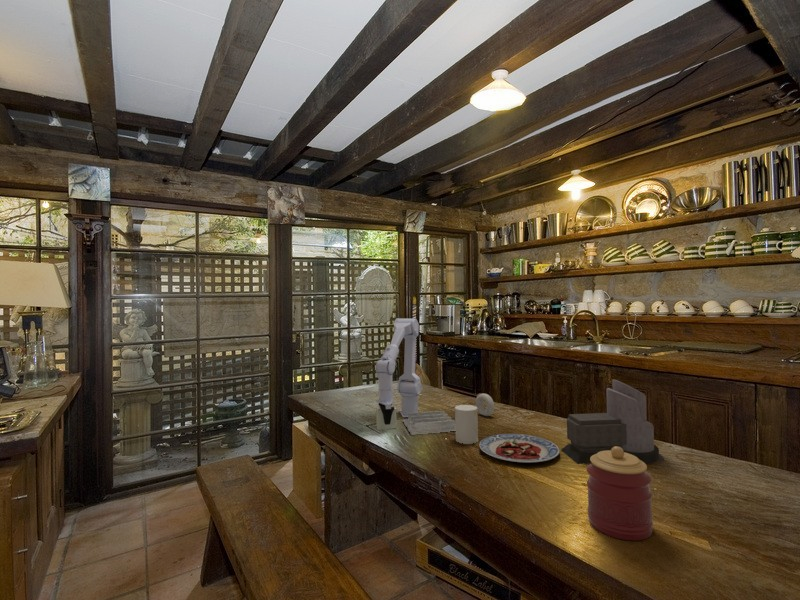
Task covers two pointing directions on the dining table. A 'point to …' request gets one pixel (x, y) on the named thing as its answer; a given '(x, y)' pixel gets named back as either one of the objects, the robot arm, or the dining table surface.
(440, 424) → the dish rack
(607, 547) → the dining table surface
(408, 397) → the robot arm
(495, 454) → the ceramic plate
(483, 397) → the donut
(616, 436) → the grey napkin holder
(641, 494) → the canister
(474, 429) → the white cylinder
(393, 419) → the grey rectangular block
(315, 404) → the dining table surface
